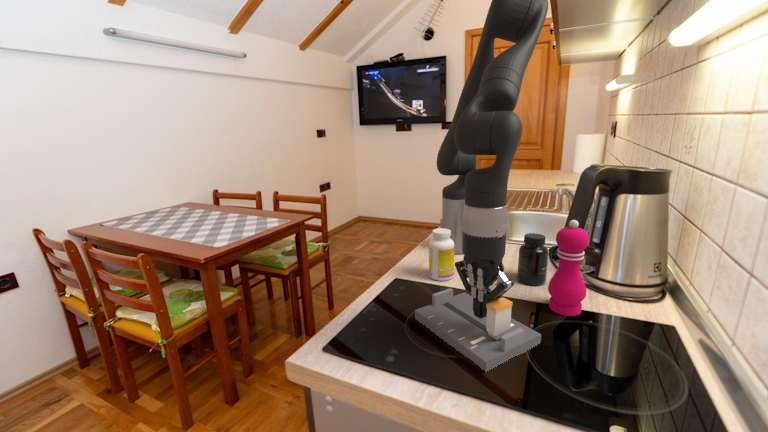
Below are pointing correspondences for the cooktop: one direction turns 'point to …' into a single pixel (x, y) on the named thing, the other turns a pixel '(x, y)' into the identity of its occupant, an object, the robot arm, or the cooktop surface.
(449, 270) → the supplement bottle
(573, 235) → the pepper mill
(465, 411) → the cooktop surface
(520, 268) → the supplement bottle
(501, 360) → the fader console
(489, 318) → the fader knob
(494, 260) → the robot arm
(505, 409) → the cooktop surface
